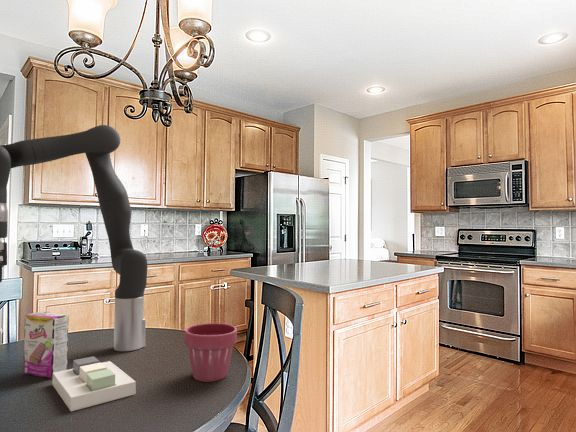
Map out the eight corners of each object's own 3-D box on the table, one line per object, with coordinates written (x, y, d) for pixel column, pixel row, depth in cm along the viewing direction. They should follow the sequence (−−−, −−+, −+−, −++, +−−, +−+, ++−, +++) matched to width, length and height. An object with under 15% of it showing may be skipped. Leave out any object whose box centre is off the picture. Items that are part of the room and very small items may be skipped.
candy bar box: (21, 374, 107) (23, 314, 108) (38, 368, 112) (40, 311, 112) (51, 379, 103) (53, 317, 104) (68, 373, 108) (69, 313, 109)
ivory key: (100, 374, 101) (100, 362, 101) (106, 379, 97) (106, 367, 97) (79, 378, 97) (79, 366, 97) (84, 384, 94) (84, 371, 94)
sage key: (108, 381, 96) (108, 368, 96) (115, 387, 92) (115, 374, 92) (86, 386, 92) (86, 373, 93) (92, 393, 89) (92, 379, 89)
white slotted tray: (109, 371, 109) (109, 361, 109) (135, 394, 94) (135, 381, 94) (52, 384, 100) (52, 372, 100) (70, 411, 85) (71, 397, 85)
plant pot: (247, 375, 107) (247, 328, 107) (204, 390, 96) (204, 338, 97) (215, 363, 116) (216, 320, 117) (173, 375, 106) (174, 328, 107)
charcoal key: (93, 367, 105) (93, 356, 106) (99, 372, 102) (99, 360, 102) (73, 371, 102) (73, 360, 102) (77, 377, 98) (78, 365, 99)
